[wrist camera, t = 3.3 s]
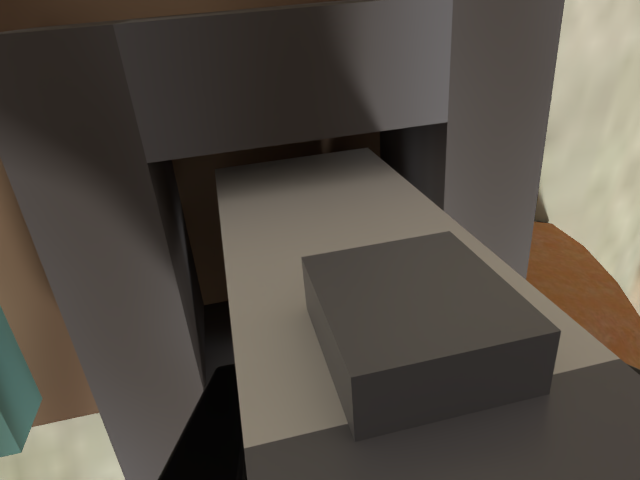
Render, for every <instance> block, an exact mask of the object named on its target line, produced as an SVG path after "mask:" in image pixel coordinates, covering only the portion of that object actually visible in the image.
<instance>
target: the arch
mask: <svg viewBox="0 0 640 480" xmlns="http://www.w3.org/2000/svg"><path fill="white" fill-rule="evenodd" d="M526 280H527V281H528V282H529V283H530V284H531V285H533V286H534V287H535V288H536V289H537V290H539V291H540V292H541V293H542V294H543V295H545V296H546V297H547V298H548V299H549V300H551V301H552V302H553V303H554V304H555V305H557V306H558V307H559V308H560V309H561V310H563V311H564V312H565V313H566V314H567V315H569V316H570V317H571V318H572V319H573V320H574V321H576V322H577V323H578V324H579V325H580V326H582V327H583V328H584V329H585V330H586V331H588V332H589V333H590V334H591V335H592V336H594V337H595V338H596V339H597V340H598V341H600V342H601V343H602V344H603V345H604V346H606V347H607V348H608V349H609V350H610V351H612V352H613V353H614V354H615V355H616V356H618V357H619V358H620V359H621V360H622V361H624V362H625V363H626V364H628V365H631V366H633V367H636V368H638V369H640V316H639V315H638V313H637V312H636V310H635V309H634V307H633V306H632V304H631V303H630V301H629V300H628V298H627V296H626V295H625V293H624V292H623V290H622V289H621V287H620V286H619V284H618V283H617V282H616V281H615V279H614V278H613V277H612V276H611V275H610V274H609V273H608V272H607V271H606V270H605V269H604V268H603V266H602V265H601V264H600V263H599V262H598V261H597V260H596V259H595V258H594V257H593V256H592V255H591V253H590V252H589V251H588V250H587V249H586V248H585V247H584V246H583V245H581V244H580V243H578V242H577V241H576V240H574V239H573V238H571V237H570V236H568V235H567V234H566V233H564V232H563V231H561V230H560V229H558V228H557V227H556V226H554V225H553V224H550V223H542V222H534V226H533V233H532V240H531V248H530V255H529V262H528V269H527V277H526Z"/></svg>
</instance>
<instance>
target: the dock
mask: <svg viewBox="0 0 640 480" xmlns="http://www.w3.org/2000/svg"><path fill="white" fill-rule="evenodd" d="M564 1H565V0H0V457H4V456H8V455H13V454H17V453H21V452H22V449H23V447H24V444H25V442H26V439H27V437H28V434H29V432H30V429H31V427H34V426H39V425H44V424H48V423H53V422H57V421H62V420H67V419H71V418H76V417H81V416H85V415H90V414H94V413H100V415H101V418H102V420H103V423H104V426H105V428H106V431H107V433H108V436H109V438H110V441H111V444H112V446H113V449H114V451H115V454H116V456H117V459H118V462H119V464H120V467H121V469H122V472H123V474H124V477H125V480H158V478H159V476H160V474H161V472H162V470H163V468H164V467H165V465H166V463H167V461H168V459H169V457H170V455H171V453H172V451H173V449H174V447H175V445H176V443H177V441H178V439H179V437H180V435H181V434H182V432H183V430H184V428H185V426H186V424H187V422H188V420H189V418H190V416H191V414H192V412H193V410H194V408H195V406H196V404H197V402H198V401H199V399H200V397H201V395H202V393H203V391H204V389H205V387H206V385H207V383H208V381H209V379H210V377H211V375H212V373H213V371H214V370H215V369H216V368H217V367H219V366H223V365H228V364H233V363H235V358H234V348H233V339H232V329H231V320H230V310H229V301H228V291H227V282H226V272H225V263H224V253H223V244H222V234H221V225H220V215H219V206H218V196H217V187H216V177H215V169H219V168H226V167H233V166H240V165H248V164H255V163H262V162H269V161H276V160H283V159H290V158H297V157H304V156H311V155H318V154H325V153H332V152H340V151H347V150H354V149H361V148H369V149H370V150H371V151H372V152H374V153H375V154H376V155H377V156H378V157H380V158H381V159H382V160H383V161H384V162H386V163H387V164H388V165H389V166H390V167H391V168H393V169H394V170H395V171H396V172H397V173H399V174H400V175H401V176H402V177H403V178H405V179H406V180H407V181H408V182H409V183H411V184H412V185H413V186H414V187H415V188H417V189H418V190H419V191H420V192H421V193H423V194H424V195H425V196H426V197H427V198H429V199H430V200H431V201H432V202H433V203H435V204H436V205H437V206H438V207H439V208H441V209H442V210H443V211H444V212H445V213H447V214H448V215H449V216H450V217H451V218H452V219H454V220H455V221H456V222H457V223H458V224H460V225H461V226H462V227H463V228H464V229H466V230H467V231H468V232H469V233H470V234H472V235H473V236H474V237H475V238H476V239H478V240H479V241H480V242H481V243H482V244H484V245H485V246H486V247H487V248H488V249H490V250H491V251H492V252H493V253H494V254H496V255H497V256H498V257H499V258H500V259H502V260H503V261H504V262H505V263H506V264H508V265H509V266H510V267H511V268H512V269H513V270H515V271H516V272H517V273H518V274H519V275H521V276H522V277H523V278H524V279H525V280H526V277H527V269H528V262H529V255H530V248H531V240H532V233H533V226H534V219H535V211H536V204H537V197H538V190H539V182H540V175H541V168H542V161H543V153H544V146H545V139H546V132H547V124H548V117H549V110H550V103H551V95H552V88H553V81H554V74H555V66H556V59H557V52H558V45H559V37H560V30H561V23H562V16H563V8H564Z"/></svg>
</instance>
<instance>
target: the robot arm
mask: <svg viewBox="0 0 640 480" xmlns="http://www.w3.org/2000/svg"><path fill="white" fill-rule="evenodd" d="M627 365H628V364H627ZM628 366H630V367H631V368H632V369H633V370H634V371H635V372H637V373H638V374H639V375H640V369H638V368H636V367H633V366H631V365H628ZM158 480H247V472H246V463H245V453H244V444H243V434H242V425H241V415H240V406H239V396H238V387H237V377H236V368H235V363H233V364H228V365H223V366H219V367H217V368H216V369H215V370H214V371H213V373H212V375H211V377H210V379H209V381H208V383H207V385H206V387H205V389H204V391H203V393H202V395H201V397H200V399H199V401H198V402H197V404H196V406H195V408H194V410H193V412H192V414H191V416H190V418H189V420H188V422H187V424H186V426H185V428H184V430H183V432H182V434H181V435H180V437H179V439H178V441H177V443H176V445H175V447H174V449H173V451H172V453H171V455H170V457H169V459H168V461H167V463H166V465H165V467H164V468H163V470H162V472H161V474H160V476H159V478H158Z"/></svg>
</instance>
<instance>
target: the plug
mask: <svg viewBox="0 0 640 480" xmlns="http://www.w3.org/2000/svg"><path fill="white" fill-rule="evenodd" d="M215 177H216V187H217V196H218V206H219V215H220V225H221V234H222V244H223V253H224V263H225V272H226V282H227V291H228V301H229V310H230V320H231V329H232V339H233V348H234V358H235V368H236V377H237V387H238V396H239V406H240V415H241V425H242V434H243V444H244V453H245V463H246V472H247V480H640V375H639V374H638V373H637V372H635V371H634V370H633V369H632V368H631V367H630V366H628V365H627V364H626V363H625V362H624V361H622V360H621V359H620V358H619V357H618V356H616V355H615V354H614V353H613V352H612V351H610V350H609V349H608V348H607V347H606V346H604V345H603V344H602V343H601V342H600V341H598V340H597V339H596V338H595V337H594V336H592V335H591V334H590V333H589V332H588V331H586V330H585V329H584V328H583V327H582V326H580V325H579V324H578V323H577V322H576V321H574V320H573V319H572V318H571V317H570V316H569V315H567V314H566V313H565V312H564V311H563V310H561V309H560V308H559V307H558V306H557V305H555V304H554V303H553V302H552V301H551V300H549V299H548V298H547V297H546V296H545V295H543V294H542V293H541V292H540V291H539V290H537V289H536V288H535V287H534V286H533V285H531V284H530V283H529V282H528V281H527V280H525V279H524V278H523V277H522V276H521V275H519V274H518V273H517V272H516V271H515V270H513V269H512V268H511V267H510V266H509V265H508V264H506V263H505V262H504V261H503V260H502V259H500V258H499V257H498V256H497V255H496V254H494V253H493V252H492V251H491V250H490V249H488V248H487V247H486V246H485V245H484V244H482V243H481V242H480V241H479V240H478V239H476V238H475V237H474V236H473V235H472V234H470V233H469V232H468V231H467V230H466V229H464V228H463V227H462V226H461V225H460V224H458V223H457V222H456V221H455V220H454V219H452V218H451V217H450V216H449V215H448V214H447V213H445V212H444V211H443V210H442V209H441V208H439V207H438V206H437V205H436V204H435V203H433V202H432V201H431V200H430V199H429V198H427V197H426V196H425V195H424V194H423V193H421V192H420V191H419V190H418V189H417V188H415V187H414V186H413V185H412V184H411V183H409V182H408V181H407V180H406V179H405V178H403V177H402V176H401V175H400V174H399V173H397V172H396V171H395V170H394V169H393V168H391V167H390V166H389V165H388V164H387V163H386V162H384V161H383V160H382V159H381V158H380V157H378V156H377V155H376V154H375V153H374V152H372V151H371V150H370V149H369V148H361V149H354V150H347V151H340V152H332V153H325V154H318V155H311V156H304V157H297V158H290V159H283V160H276V161H269V162H262V163H255V164H248V165H240V166H233V167H226V168H219V169H215Z"/></svg>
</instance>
